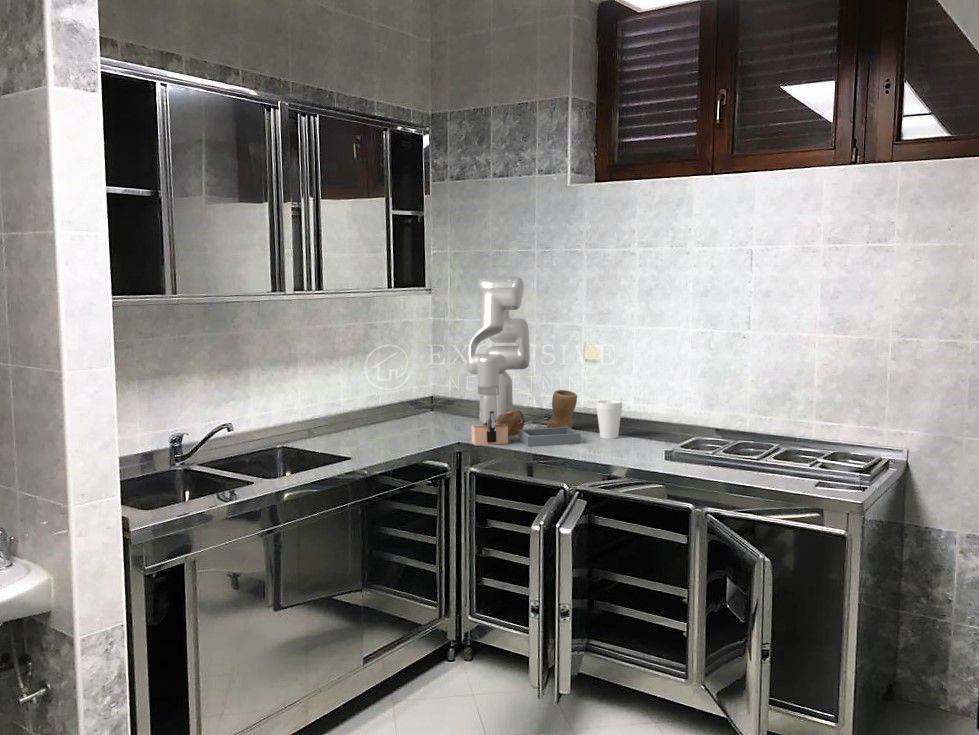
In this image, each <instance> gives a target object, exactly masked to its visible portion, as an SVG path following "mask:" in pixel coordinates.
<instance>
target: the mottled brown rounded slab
mask: <svg viewBox="0 0 979 735" xmlns="http://www.w3.org/2000/svg"><path fill="white" fill-rule="evenodd" d="M496 424H505V425H506V426H507V427H508V437H510V436H511V435H514V434H518V430H524V426H525V417H524V414H523V413H522V412H521V410H513V411H511V412H507V413H503V414H500V415H499V416H498V418H497V422H496Z"/></svg>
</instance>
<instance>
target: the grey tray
mask: <svg viewBox="0 0 979 735" xmlns="http://www.w3.org/2000/svg"><path fill="white" fill-rule="evenodd" d="M517 434H518V435H517V436H518V441H520V442H521V443H523V444H524V445H526V447H531V448H532V447H545V446H547V447H549V446H560V445H562V446H563V445H574V444H575V445H578V444H581V443H582V434H581V433H580V432H579V431H578V430H575V429H573V428H572V427H571V428H570V427H559V428H547V427H546V428H545V427H542V428H530V429H529V428H527V429H524V428H523V429H522V430H518V433H517Z"/></svg>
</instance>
